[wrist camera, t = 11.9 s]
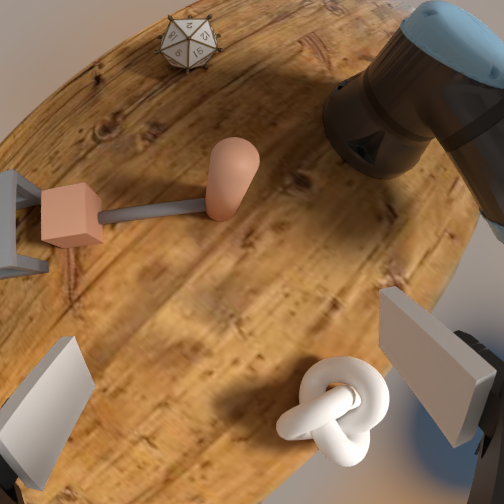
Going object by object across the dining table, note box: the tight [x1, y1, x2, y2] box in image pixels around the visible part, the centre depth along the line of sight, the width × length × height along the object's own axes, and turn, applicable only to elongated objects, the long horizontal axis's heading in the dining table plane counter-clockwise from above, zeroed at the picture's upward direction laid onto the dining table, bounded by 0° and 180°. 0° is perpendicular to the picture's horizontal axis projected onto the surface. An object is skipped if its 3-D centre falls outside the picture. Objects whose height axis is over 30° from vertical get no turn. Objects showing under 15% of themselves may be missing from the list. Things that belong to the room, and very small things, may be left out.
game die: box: [153, 14, 224, 75], centre depth 33 cm, size 9×8×10 cm
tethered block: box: [41, 137, 260, 249], centre depth 28 cm, size 20×5×13 cm, turn 98°
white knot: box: [276, 356, 389, 467], centre depth 30 cm, size 11×12×9 cm
